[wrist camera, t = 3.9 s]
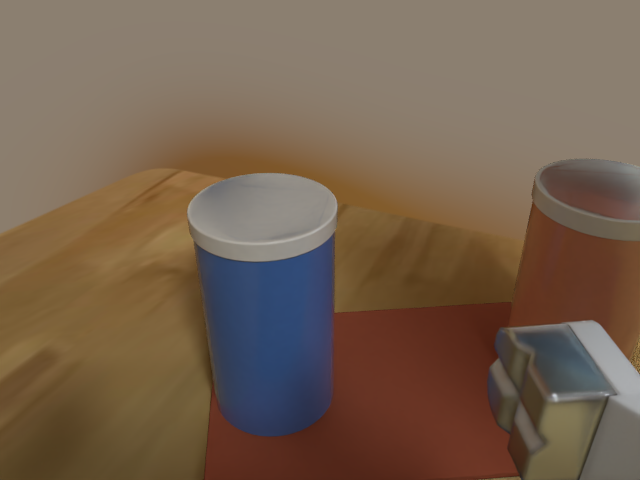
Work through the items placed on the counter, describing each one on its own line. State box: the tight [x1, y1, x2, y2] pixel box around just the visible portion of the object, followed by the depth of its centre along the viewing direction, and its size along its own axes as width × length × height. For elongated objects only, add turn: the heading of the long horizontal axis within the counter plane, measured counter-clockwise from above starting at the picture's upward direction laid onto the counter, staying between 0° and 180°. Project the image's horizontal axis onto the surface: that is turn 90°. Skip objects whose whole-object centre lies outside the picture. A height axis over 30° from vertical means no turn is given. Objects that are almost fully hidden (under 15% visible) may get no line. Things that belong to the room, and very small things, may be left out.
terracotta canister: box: [507, 159, 640, 363], centre depth 26 cm, size 6×6×10 cm
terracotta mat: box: [204, 302, 519, 480], centre depth 28 cm, size 20×11×1 cm, turn 95°
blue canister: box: [187, 173, 338, 437], centre depth 25 cm, size 6×6×10 cm
